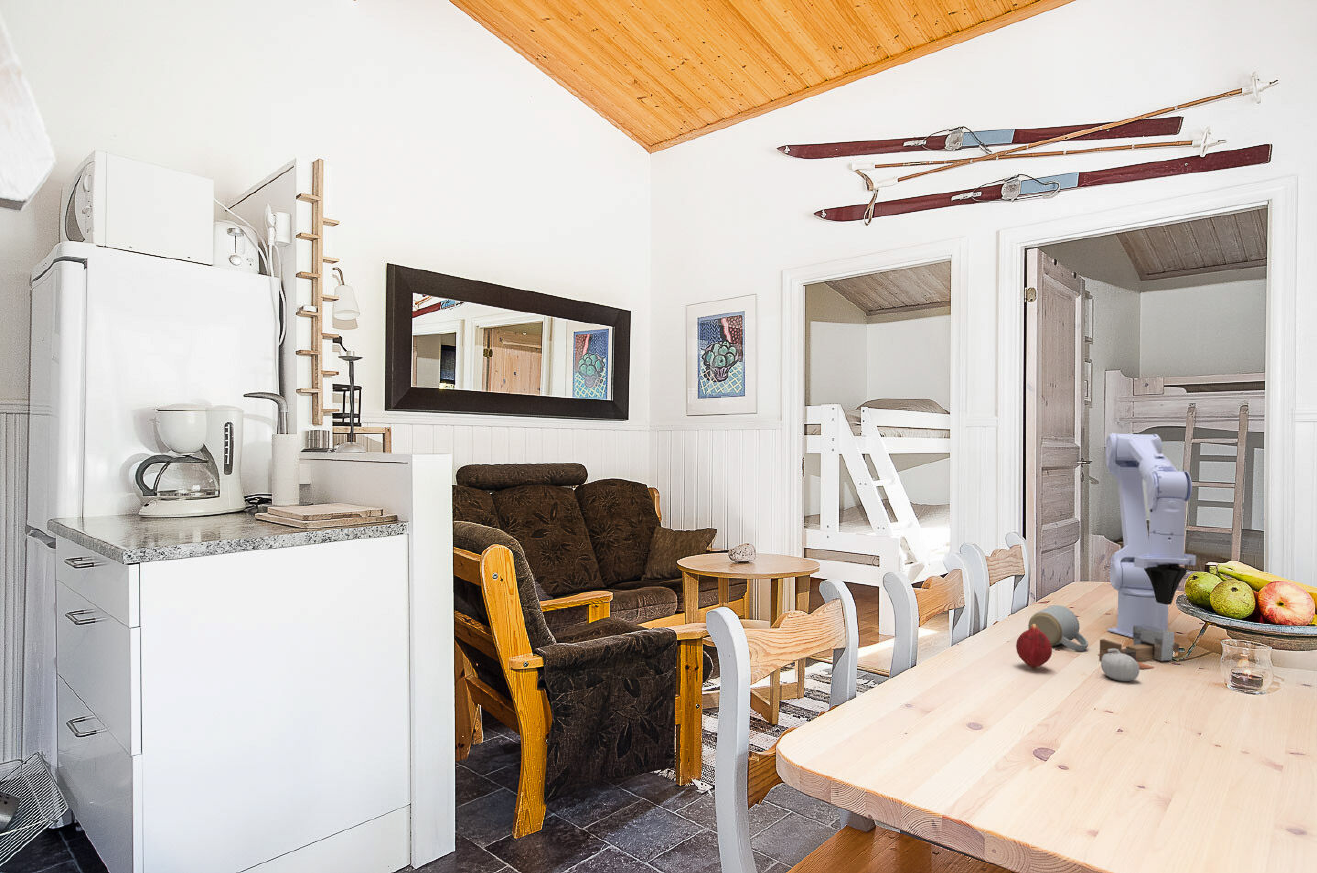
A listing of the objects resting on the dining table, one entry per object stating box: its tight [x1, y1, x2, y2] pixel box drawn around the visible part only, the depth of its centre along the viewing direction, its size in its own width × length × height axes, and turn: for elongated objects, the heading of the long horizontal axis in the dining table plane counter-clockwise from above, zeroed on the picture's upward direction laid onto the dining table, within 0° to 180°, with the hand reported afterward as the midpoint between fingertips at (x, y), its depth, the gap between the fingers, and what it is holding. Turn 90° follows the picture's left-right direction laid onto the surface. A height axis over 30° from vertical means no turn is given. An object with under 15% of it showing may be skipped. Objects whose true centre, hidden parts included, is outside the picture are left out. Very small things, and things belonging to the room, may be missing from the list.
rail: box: [1097, 638, 1180, 670], centre depth 145 cm, size 18×9×4 cm, turn 112°
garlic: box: [1100, 649, 1140, 682], centre depth 133 cm, size 6×5×5 cm
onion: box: [1015, 624, 1053, 670], centre depth 137 cm, size 6×6×8 cm
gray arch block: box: [1132, 624, 1175, 662], centre depth 146 cm, size 3×6×5 cm, turn 22°
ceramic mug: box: [1027, 604, 1089, 652], centre depth 153 cm, size 10×8×7 cm
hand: (1163, 603), depth 147 cm, fingers closed
